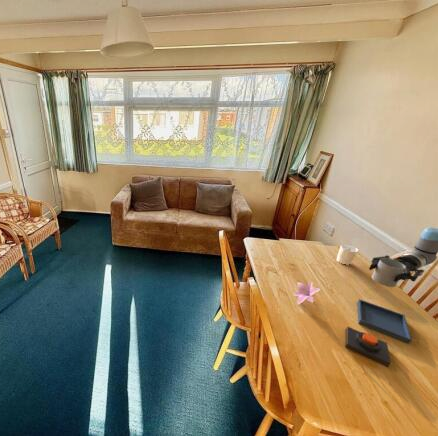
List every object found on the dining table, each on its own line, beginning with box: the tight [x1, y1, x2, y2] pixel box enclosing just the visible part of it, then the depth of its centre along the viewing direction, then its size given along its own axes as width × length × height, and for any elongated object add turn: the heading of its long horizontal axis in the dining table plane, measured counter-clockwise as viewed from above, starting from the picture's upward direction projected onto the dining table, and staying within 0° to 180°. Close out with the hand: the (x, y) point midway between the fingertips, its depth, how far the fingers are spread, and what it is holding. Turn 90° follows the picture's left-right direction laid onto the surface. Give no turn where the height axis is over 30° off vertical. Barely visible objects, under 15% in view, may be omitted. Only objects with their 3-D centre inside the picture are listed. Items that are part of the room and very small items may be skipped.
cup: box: [371, 258, 406, 288], centre depth 105 cm, size 8×8×10 cm
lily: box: [293, 281, 321, 306], centre depth 109 cm, size 12×12×10 cm
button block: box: [344, 326, 391, 368], centre depth 87 cm, size 12×10×4 cm
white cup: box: [336, 244, 359, 266], centre depth 136 cm, size 8×8×10 cm
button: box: [362, 332, 378, 346], centre depth 86 cm, size 4×4×2 cm
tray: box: [356, 298, 412, 345], centre depth 98 cm, size 15×15×2 cm
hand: (382, 272), depth 103 cm, fingers closed on cup, 8 cm apart
